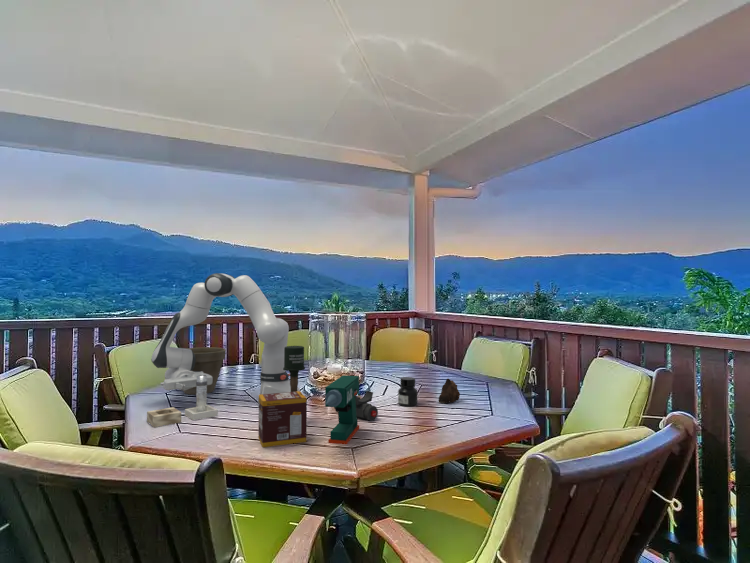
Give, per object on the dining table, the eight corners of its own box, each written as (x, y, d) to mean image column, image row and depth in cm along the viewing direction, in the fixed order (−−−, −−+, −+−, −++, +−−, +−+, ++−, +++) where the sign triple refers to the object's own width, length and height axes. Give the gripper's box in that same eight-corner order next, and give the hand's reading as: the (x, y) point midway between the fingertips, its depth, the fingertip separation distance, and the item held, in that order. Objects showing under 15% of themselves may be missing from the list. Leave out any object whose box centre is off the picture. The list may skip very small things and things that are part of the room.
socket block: (173, 416, 183) (173, 407, 183) (181, 422, 175) (181, 412, 175) (146, 421, 176) (147, 411, 176) (154, 427, 168) (154, 417, 169)
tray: (208, 411, 192) (208, 405, 192) (217, 415, 184) (217, 409, 184) (184, 415, 185) (184, 409, 185) (193, 420, 177) (193, 414, 178)
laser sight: (346, 408, 197) (346, 386, 197) (382, 419, 181) (382, 394, 181) (329, 412, 190) (329, 389, 190) (365, 424, 174) (365, 398, 175)
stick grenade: (286, 426, 170) (287, 348, 171) (280, 420, 178) (280, 346, 178) (307, 423, 174) (307, 347, 175) (300, 417, 182) (301, 345, 182)
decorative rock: (452, 398, 215) (452, 376, 215) (462, 401, 211) (462, 378, 211) (436, 402, 207) (436, 379, 207) (446, 405, 203) (446, 381, 203)
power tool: (336, 459, 138) (337, 395, 138) (315, 457, 139) (315, 394, 139) (360, 428, 169) (360, 375, 169) (342, 426, 170) (343, 374, 171)
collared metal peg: (209, 413, 186) (209, 375, 186) (202, 416, 182) (202, 377, 182) (200, 412, 187) (200, 374, 188) (193, 415, 183) (193, 376, 183)
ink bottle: (395, 402, 207) (395, 377, 207) (412, 401, 210) (412, 375, 210) (402, 407, 198) (402, 381, 198) (420, 406, 201) (420, 379, 201)
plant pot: (213, 384, 245) (214, 345, 246) (233, 392, 227) (233, 349, 228) (166, 391, 229) (167, 349, 229) (183, 400, 210) (184, 354, 211)
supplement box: (257, 438, 157) (258, 394, 157) (300, 433, 163) (300, 390, 163) (261, 447, 147) (262, 401, 148) (306, 442, 153) (307, 397, 154)
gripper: (159, 375, 194) (169, 381, 183) (205, 370, 207) (217, 375, 197) (158, 390, 194) (168, 396, 183) (205, 384, 207) (217, 389, 197)
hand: (194, 385), depth 190 cm, fingers open, 8 cm apart
